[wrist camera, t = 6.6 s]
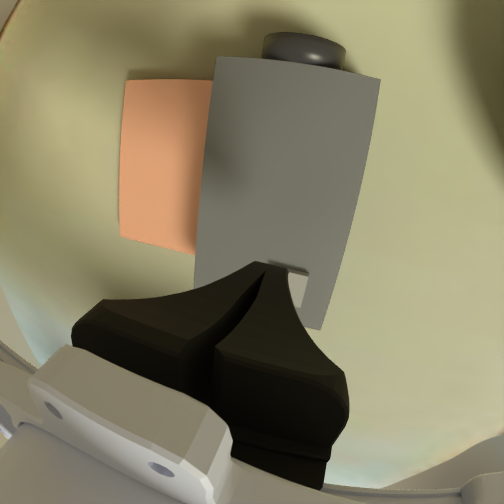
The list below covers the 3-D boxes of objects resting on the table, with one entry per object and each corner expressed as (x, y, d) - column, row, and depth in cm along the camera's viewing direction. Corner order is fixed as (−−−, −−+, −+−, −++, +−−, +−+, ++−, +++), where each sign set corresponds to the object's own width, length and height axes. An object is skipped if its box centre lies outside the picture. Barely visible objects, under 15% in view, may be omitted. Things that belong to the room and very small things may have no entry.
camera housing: (324, 292, 22) (319, 334, 17) (218, 266, 23) (190, 300, 19) (373, 66, 15) (385, 47, 11) (245, 46, 17) (218, 26, 12)
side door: (200, 256, 22) (120, 236, 23) (204, 251, 23) (125, 232, 24) (218, 80, 17) (126, 80, 18) (222, 82, 18) (132, 81, 19)
